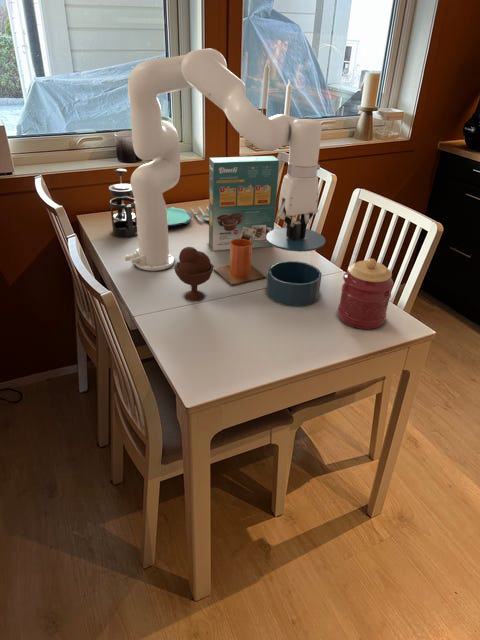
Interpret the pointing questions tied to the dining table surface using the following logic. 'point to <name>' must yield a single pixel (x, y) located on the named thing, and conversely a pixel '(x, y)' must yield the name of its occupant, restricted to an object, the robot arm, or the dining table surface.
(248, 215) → the cake mix box
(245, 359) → the dining table surface
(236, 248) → the cup
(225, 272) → the plate
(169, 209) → the cutlery set
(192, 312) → the dining table surface
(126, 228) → the french press
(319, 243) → the lid
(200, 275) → the ice cream bowl
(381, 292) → the kitchen canister
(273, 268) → the pot
